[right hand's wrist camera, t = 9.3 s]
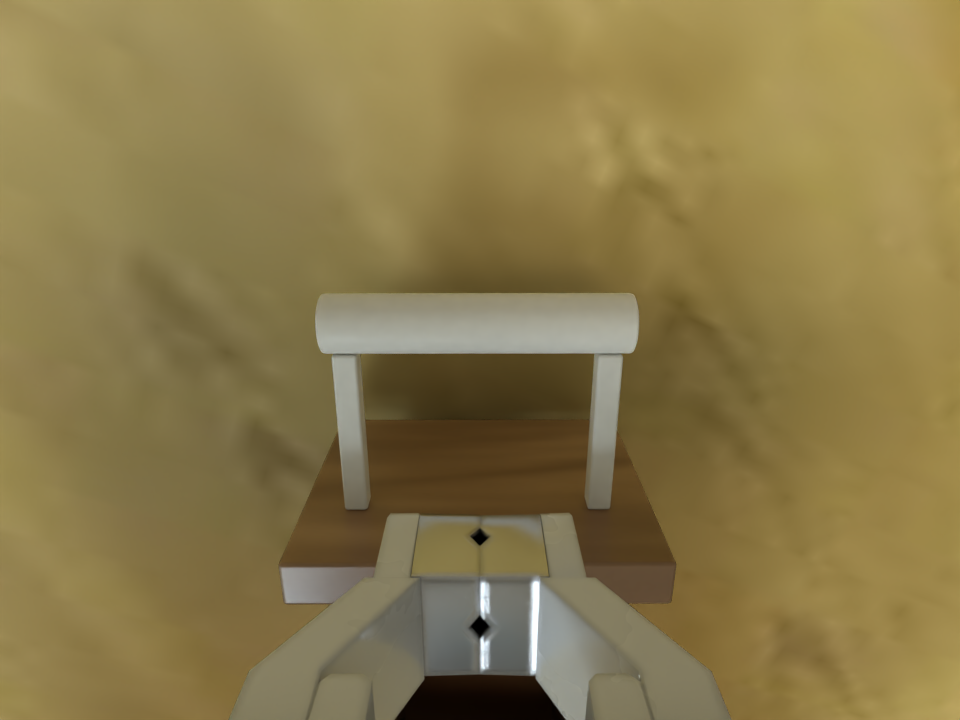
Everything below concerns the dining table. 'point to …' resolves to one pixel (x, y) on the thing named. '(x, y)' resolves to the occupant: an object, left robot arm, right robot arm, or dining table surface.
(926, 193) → the dining table surface
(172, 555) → the dining table surface
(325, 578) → the drawer
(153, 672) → the dining table surface
